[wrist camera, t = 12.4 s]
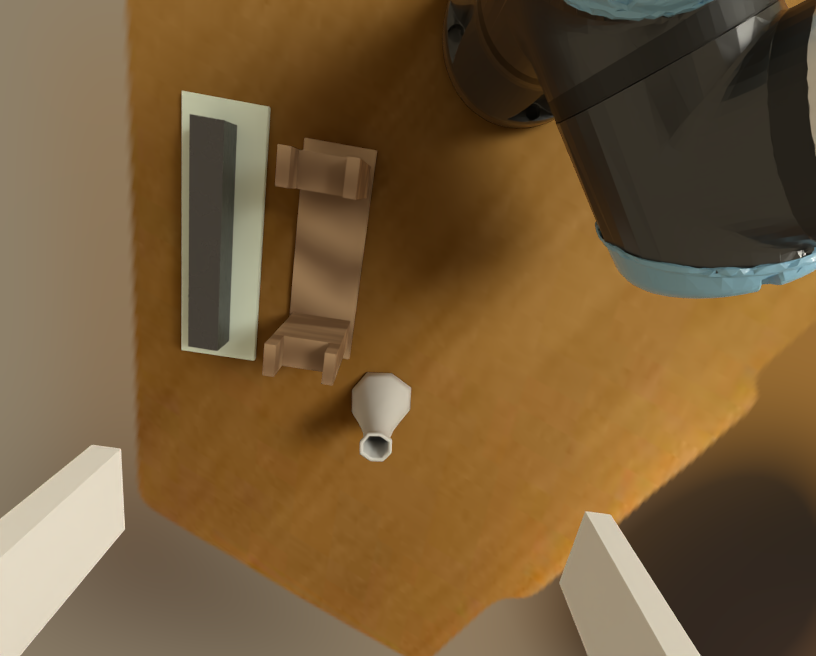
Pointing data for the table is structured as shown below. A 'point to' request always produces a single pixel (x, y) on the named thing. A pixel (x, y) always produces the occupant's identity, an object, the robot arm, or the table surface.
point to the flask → (379, 411)
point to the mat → (246, 216)
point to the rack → (323, 254)
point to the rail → (210, 230)
